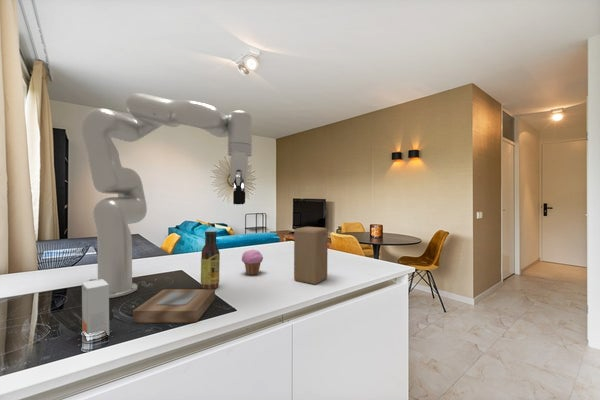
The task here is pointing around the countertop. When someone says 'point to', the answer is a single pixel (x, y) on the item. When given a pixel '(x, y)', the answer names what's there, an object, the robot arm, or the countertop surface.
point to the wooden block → (310, 254)
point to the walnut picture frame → (175, 306)
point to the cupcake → (252, 261)
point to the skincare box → (95, 306)
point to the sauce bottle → (210, 262)
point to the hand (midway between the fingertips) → (239, 203)
